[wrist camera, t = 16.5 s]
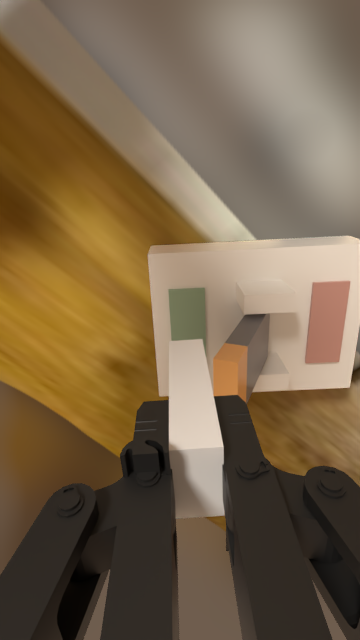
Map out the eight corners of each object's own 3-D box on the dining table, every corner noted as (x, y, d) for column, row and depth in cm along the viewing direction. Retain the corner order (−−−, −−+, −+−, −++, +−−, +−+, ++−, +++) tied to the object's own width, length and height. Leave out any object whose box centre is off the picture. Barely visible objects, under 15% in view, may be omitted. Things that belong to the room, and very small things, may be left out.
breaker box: (161, 373, 48) (157, 422, 39) (151, 245, 42) (143, 264, 32) (331, 366, 48) (370, 412, 39) (348, 235, 42) (401, 251, 32)
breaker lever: (252, 350, 41) (213, 421, 29) (253, 302, 39) (213, 358, 27) (269, 352, 40) (236, 426, 28) (271, 304, 38) (238, 362, 26)
